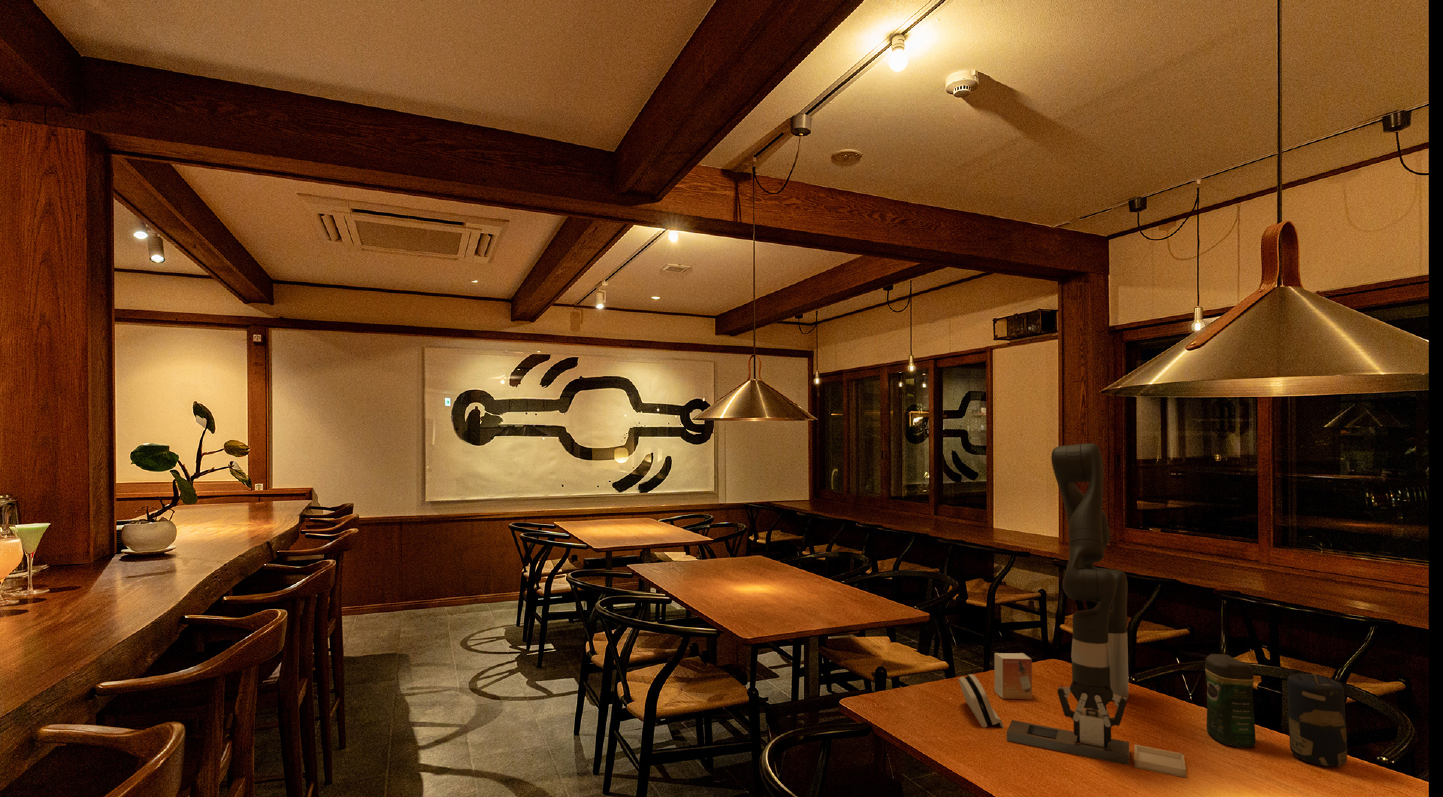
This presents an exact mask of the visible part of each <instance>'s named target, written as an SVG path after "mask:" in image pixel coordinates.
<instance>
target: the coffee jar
mask: <svg viewBox="0 0 1443 797" xmlns="http://www.w3.org/2000/svg"><path fill="white" fill-rule="evenodd" d="M1204 671H1205V676H1206V677H1205V678H1206V698H1207V699H1206V731H1207V734H1209V736H1210V737H1212V738H1214V740H1216V741H1218V742H1220V743H1221V744H1223V745H1228V746H1232V747H1236V748H1239V749H1240V748H1241V749H1243V748H1244V749H1246V748H1251V747H1255V745H1256V744H1257V740H1256V739H1257V738H1256V726H1255V714H1254V713H1255V712H1254V696H1253V691H1254V690H1253V689H1254V684H1255V683H1254V682H1255V678H1254V672H1253V671H1254V669H1253V667H1252V666H1251V665H1249V664H1248V663H1245V662H1243V661H1241V660H1239V659H1236V658H1235V657H1232V656H1230V655H1229V654H1224V653H1222V654H1221V653H1210V654H1209V655H1207V656H1206V658H1205V664H1204Z"/></svg>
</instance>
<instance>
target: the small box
mask: <svg viewBox="0 0 1443 797" xmlns="http://www.w3.org/2000/svg"><path fill="white" fill-rule="evenodd" d="M1032 664H1033V659H1032V658H1031V657H1029V656H1028V655H1026V654H1025V653H1024V652H1019V653H1017V652H1016V653H1015V652H1013V653H1011V652H1010V653H1009V652H1008V653H1007V652H1005V653H1003V652H1000V653H999V652H994V692H995V693H996V694H997V695H998V696H999V697H1000V698H1001V697H1002V700H1003V699H1005V700H1006V699H1009V700H1010V699H1011V700H1012V699H1013V700H1016V699H1017V700H1033V673H1032V672H1033V668H1032V667H1033V665H1032Z"/></svg>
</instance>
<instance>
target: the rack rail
mask: <svg viewBox="0 0 1443 797" xmlns="http://www.w3.org/2000/svg"><path fill="white" fill-rule="evenodd" d="M1044 736H1045V737H1044ZM1049 737H1050V738H1049ZM1006 742H1011V743H1017V744H1020V745H1021V744H1023V745H1026V746H1031V747H1036V748H1042V749H1046V750H1050V751H1051V750H1052V751H1056V752H1061V753H1065V754H1070V755H1071V754H1072V755H1077V756H1081V757H1085V758H1090V759H1095V760H1100V761H1105V762H1111V763H1116V764H1120V765H1125V766H1130V742H1129V741H1127V740H1121V739H1115V738H1111V741H1110V742H1108V744H1105V749H1102V748H1097V747H1092V746H1087V745H1081V744H1080V739H1077V736H1075V735H1074V730H1073V731H1072V730H1067V729H1063V728H1057V727H1052V726H1048V725H1047V726H1046V725H1041V724H1037V723H1036V724H1034V723H1030V722H1025V721H1020V720H1015V719H1011V721H1010V723H1009V726H1008V728H1007V729H1006Z"/></svg>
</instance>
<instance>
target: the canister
mask: <svg viewBox="0 0 1443 797" xmlns="http://www.w3.org/2000/svg"><path fill="white" fill-rule="evenodd" d="M1286 681H1287V682H1286V685H1287V686H1286V687H1287V707H1288V708H1287V709H1288V733H1289V735H1288V736H1289V748H1290V752H1291V753H1292V754H1293V755H1294V756H1295V757H1296V758H1299V759H1300V760H1303V761H1305V762H1307V763H1311V764H1315V765H1319V766H1320V765H1321V766H1325V767H1340V766H1343V765H1344V766H1345V765H1346V763H1347V762H1348V747H1347V746H1348V743H1347V742H1348V738H1347V736H1348V734H1347V725H1346V724H1347V723H1346V721H1347V720H1346V706H1345V689H1344V686H1343V684H1341V683H1340V682H1339V681H1337V680H1334V679H1332V678H1328V677H1325V676H1321V675H1317V674H1315V673H1311V674H1309V673H1293V674H1290V675H1288V677H1287V679H1286Z"/></svg>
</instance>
